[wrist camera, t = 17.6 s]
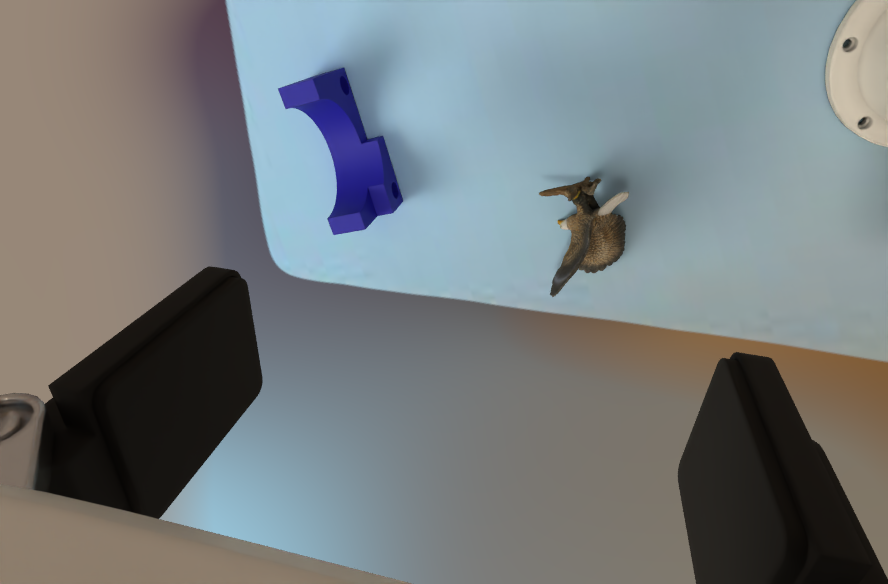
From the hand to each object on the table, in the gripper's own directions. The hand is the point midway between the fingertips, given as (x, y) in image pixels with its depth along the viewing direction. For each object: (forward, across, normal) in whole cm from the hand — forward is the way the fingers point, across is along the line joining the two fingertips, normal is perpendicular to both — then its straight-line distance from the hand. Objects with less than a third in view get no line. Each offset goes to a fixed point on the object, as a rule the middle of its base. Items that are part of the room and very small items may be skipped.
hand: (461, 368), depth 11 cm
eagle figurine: (+36, -4, +11) cm, 38 cm away
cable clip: (+36, +16, +6) cm, 40 cm away
